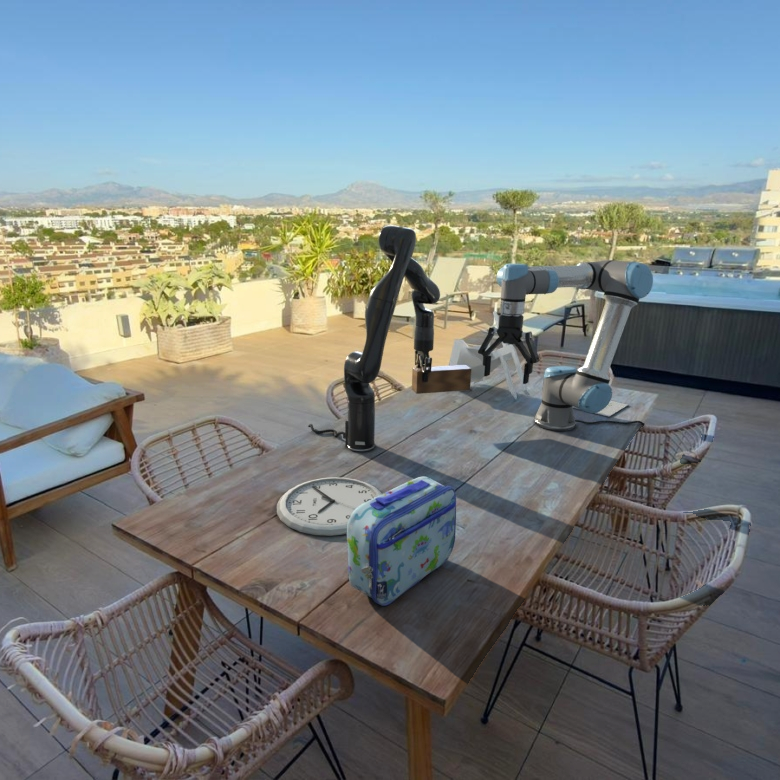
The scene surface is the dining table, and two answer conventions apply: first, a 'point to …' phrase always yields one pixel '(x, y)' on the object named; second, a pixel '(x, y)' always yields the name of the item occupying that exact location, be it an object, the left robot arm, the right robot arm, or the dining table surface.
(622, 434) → the dining table surface
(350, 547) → the lunch box
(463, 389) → the box
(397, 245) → the left robot arm
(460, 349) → the white plastic object
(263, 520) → the dining table surface
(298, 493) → the wall clock
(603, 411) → the invitation card
